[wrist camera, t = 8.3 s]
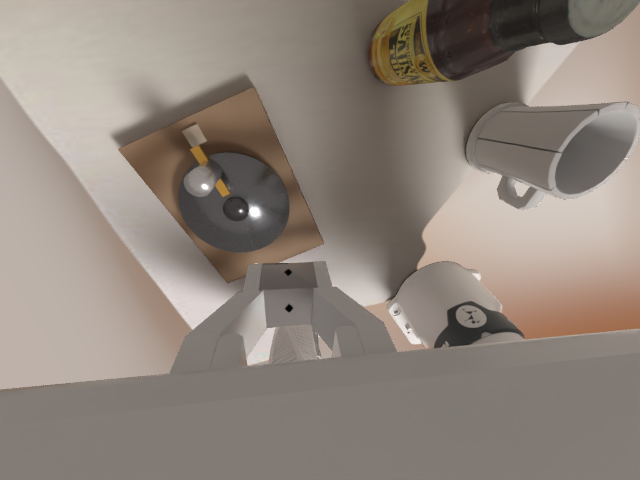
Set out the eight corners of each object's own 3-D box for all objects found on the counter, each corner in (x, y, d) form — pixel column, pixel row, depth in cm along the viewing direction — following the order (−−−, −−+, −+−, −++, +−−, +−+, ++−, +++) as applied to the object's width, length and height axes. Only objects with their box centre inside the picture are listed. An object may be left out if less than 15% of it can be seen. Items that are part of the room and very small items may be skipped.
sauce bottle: (354, 52, 25) (512, -54, 8) (399, -4, 23) (719, -287, 6) (389, 101, 28) (560, 98, 11) (432, 55, 26) (711, -34, 9)
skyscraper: (272, 328, 44) (265, 589, 21) (263, 297, 40) (241, 580, 16) (315, 320, 45) (357, 563, 21) (311, 289, 41) (357, 548, 17)
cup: (527, 159, 35) (632, 183, 25) (470, 192, 36) (546, 227, 26) (523, 87, 29) (654, 78, 19) (456, 128, 31) (545, 140, 21)
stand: (322, 238, 36) (324, 244, 35) (229, 277, 37) (227, 284, 36) (255, 87, 25) (253, 86, 24) (125, 146, 26) (116, 149, 25)
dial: (305, 225, 32) (310, 249, 27) (222, 262, 33) (212, 291, 28) (250, 119, 25) (243, 123, 20) (147, 170, 26) (113, 187, 21)
